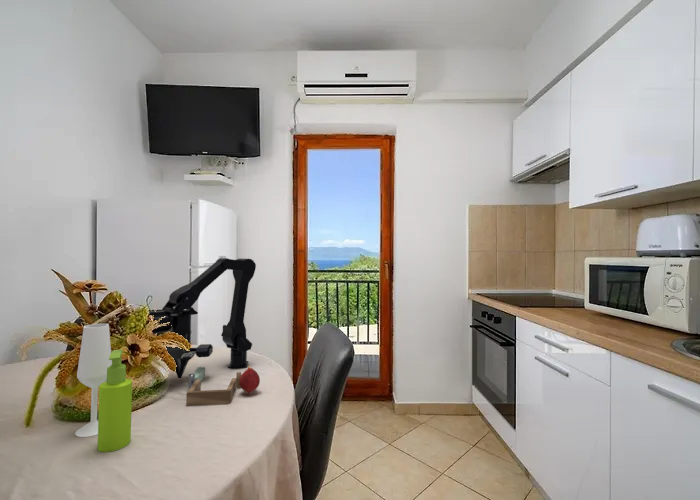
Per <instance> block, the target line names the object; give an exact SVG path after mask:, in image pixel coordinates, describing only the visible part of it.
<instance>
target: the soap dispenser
mask: <svg viewBox="0 0 700 500" xmlns="http://www.w3.org/2000/svg"><path fill="white" fill-rule="evenodd" d="M123 352H124V349H116V350H115V349H114V350H111V354H110V356H109V360H112V365H110V366H109V367H108V368H107V380H106V381H105V382H104V383H102V384H100V385H99V387H98V412H97V420H98V434H97V450H98V452H102V453H108V452H109V453H111V452H116V451H119V450H121V449H123V448H125V447H126V446H128V445H129V444H130V443H131V438H132V437H131V436H132V433H131V432H132V406H133V405H132V404H133V403H132V401H133V380H132V379H131V378H127V377H126V373H127V372H126V370H127V367H126V366H127V365H126V364H124V363H122V359H123V358H122V356H123V355H122V354H123Z"/></svg>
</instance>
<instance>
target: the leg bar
mask: <svg viewBox="0 0 700 500" xmlns="http://www.w3.org/2000/svg"><path fill="white" fill-rule="evenodd" d="M192 374H195V381H196V380H199V379H201V382H202V381H203V379H204V378H205V377H206V366H198V367H197V368H196V369H195V371H194V372H192Z"/></svg>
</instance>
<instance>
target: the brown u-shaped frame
mask: <svg viewBox="0 0 700 500" xmlns="http://www.w3.org/2000/svg"><path fill="white" fill-rule="evenodd" d="M241 375H242V372H241V371H237V372H236V377H232V378H231V380H230V383H229V385H228V387H226V389H210V390H209V389H207V390H201V389H202V381H201V379H199V380H196V381H195V383H194V384H193V385H192V386H191V388H190V389H189V388H188V390H187V392H186V397H185V398H186V399H185V401H186V402H185V403H186V404H185V405H186V407H195V406H211V405H215V406H216V405H229V404H230V405H231V403H232V400H233V398H234V395H235V394H234V393H236V391H237V389H242V388H241V387H240V384H239V381H240V377H241Z"/></svg>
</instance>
